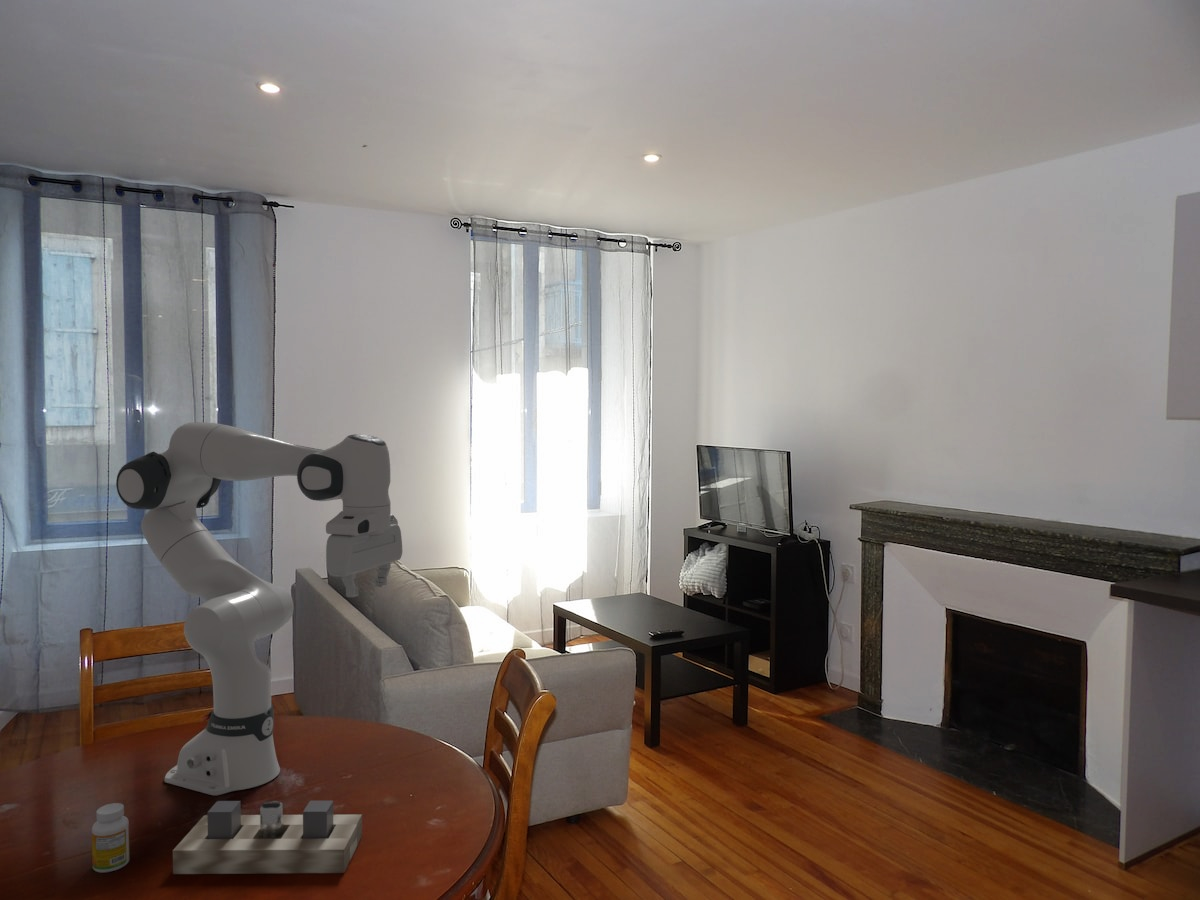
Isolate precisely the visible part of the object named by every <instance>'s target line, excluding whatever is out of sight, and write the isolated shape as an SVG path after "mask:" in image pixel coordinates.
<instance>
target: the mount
mask: <svg viewBox="0 0 1200 900" xmlns="http://www.w3.org/2000/svg"><path fill="white" fill-rule="evenodd" d="M362 837H363V814H355V813H354V814H333V830H332V832H331V834H330V835H329V837H328V838H325V839H303V814H283V834H282V835H281V836H280V837H278V838H276V839H262V838H261V837H260V814H241V829H240V831H239V832H238V833H237V835H236V836H235V837H234V838H233V839H208V814H205V815H203V816H202V817H201V818H200V819H199V820H198V821H197V822H196V824H195V825H194V826H193V827H192V828H191V829H190V831H189V832H188V833H187V834H186V835H185V836H184V837H183V838H182V839H181V841H180V842H178V844H176V846H175V847H174V849H172V874H173V875H203V874H204V875H209V874H210V875H214V874H215V875H216V874H217V875H224V874H225V875H228V874H229V875H231V874H232V875H234V874H235V875H236V874H243V875H246V874H251V875H252V874H256V875H257V874H345V873H346V870H347V868H348V867H349V863H350V862H351V861H352V857H353V856H354V854H355V851H356V849H357V847H358V845H359V843H360V841H361V840H362Z"/></svg>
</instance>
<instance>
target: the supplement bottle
mask: <svg viewBox="0 0 1200 900" xmlns="http://www.w3.org/2000/svg"><path fill="white" fill-rule="evenodd" d="M95 816H96V821H95V822H94V824H92V827H91V854H92V856H91V857H92V858H91V860H92V861H91V862H92V869H93V870H94V871H95V872H97V873H103V874H104V873H110V872H113V871H117V870H120V869H122V868H123V867H125V866H126V865H127V864H129V862H130V822H129V819H128V817H127V816H125V806H124V804H122V803H120V802H113V803H108V804H105V805H102V806H101V807H98V809H97V810H96V815H95Z"/></svg>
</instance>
